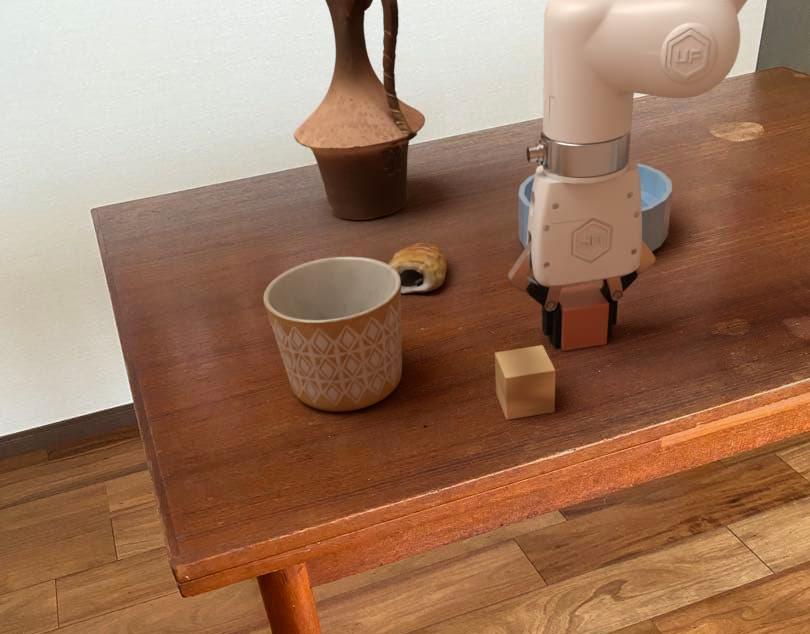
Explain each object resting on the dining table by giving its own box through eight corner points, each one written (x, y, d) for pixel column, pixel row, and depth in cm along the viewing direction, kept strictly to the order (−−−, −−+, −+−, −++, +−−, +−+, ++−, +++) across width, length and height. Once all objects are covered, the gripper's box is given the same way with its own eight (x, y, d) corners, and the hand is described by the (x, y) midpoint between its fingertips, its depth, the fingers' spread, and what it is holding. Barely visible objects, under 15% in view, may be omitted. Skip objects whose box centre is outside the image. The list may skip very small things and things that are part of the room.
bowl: (638, 199, 113) (642, 151, 109) (689, 256, 101) (695, 204, 97) (505, 219, 113) (504, 172, 109) (539, 280, 100) (539, 228, 96)
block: (542, 386, 84) (542, 344, 81) (554, 412, 81) (555, 370, 78) (495, 393, 84) (494, 352, 81) (506, 420, 81) (505, 378, 78)
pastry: (401, 258, 107) (398, 228, 105) (455, 259, 106) (454, 228, 103) (383, 295, 101) (379, 264, 98) (441, 297, 99) (439, 265, 97)
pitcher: (458, 194, 121) (445, -49, 102) (378, 242, 112) (347, -14, 93) (362, 173, 130) (334, -53, 111) (281, 216, 121) (234, -22, 102)
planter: (277, 365, 92) (256, 271, 85) (395, 341, 93) (384, 246, 86) (293, 432, 83) (271, 333, 76) (424, 404, 84) (414, 304, 77)
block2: (593, 323, 92) (595, 282, 89) (606, 344, 89) (609, 303, 86) (551, 329, 92) (551, 289, 89) (562, 351, 88) (563, 310, 85)
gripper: (500, 181, 75) (505, 367, 87) (695, 151, 75) (672, 340, 88) (482, 151, 80) (489, 330, 93) (664, 123, 81) (647, 305, 93)
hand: (578, 333), depth 90 cm, fingers closed on block2, 4 cm apart
